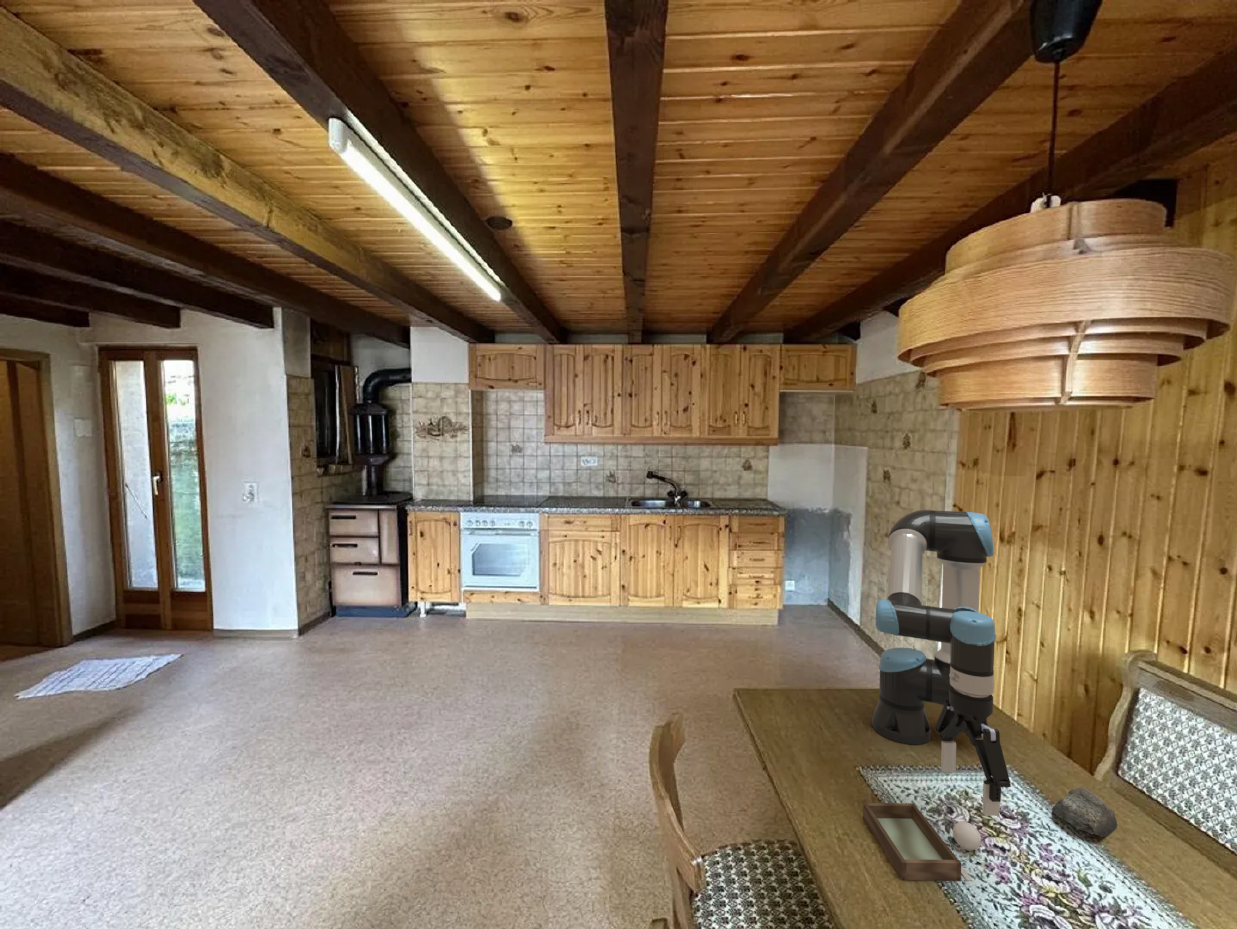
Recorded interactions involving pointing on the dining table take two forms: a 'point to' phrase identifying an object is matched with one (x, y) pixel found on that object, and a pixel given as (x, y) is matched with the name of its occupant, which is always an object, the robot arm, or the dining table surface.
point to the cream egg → (967, 836)
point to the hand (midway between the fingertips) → (968, 791)
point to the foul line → (965, 875)
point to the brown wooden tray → (911, 842)
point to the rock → (1086, 812)
